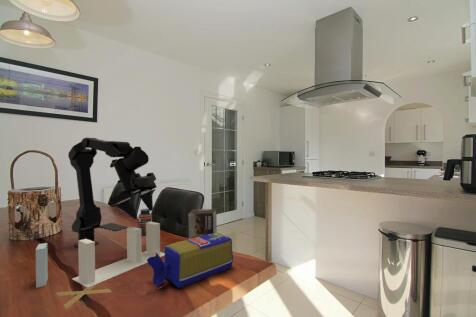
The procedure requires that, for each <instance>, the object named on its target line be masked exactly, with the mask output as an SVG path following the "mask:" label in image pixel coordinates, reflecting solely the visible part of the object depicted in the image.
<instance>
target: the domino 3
mask: <svg viewBox="0 0 476 317" xmlns="http://www.w3.org/2000/svg"><path fill="white" fill-rule="evenodd" d="M127 227H128V228H127V229H126V254H127V256H126V258H127V261H130V262H132V263H135V264H138V263H140V262H142V252H143V250H142V242H143V241H142V235H141V228H138V227H136V226H127Z"/></svg>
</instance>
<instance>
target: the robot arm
mask: <svg viewBox="0 0 476 317" xmlns="http://www.w3.org/2000/svg"><path fill="white" fill-rule="evenodd" d="M98 151H100V152H104V153H105V155H106V156H108V157H109V158H119V159H112V160H111V163H110V165H109V168H114V169H115V170H114V171H115V172H116V174H117V177H118V180H117V184H118V185H119V184H121V186H122V189H123V191H120V192H117V193H116V194H114V195H113V194H112V196H110V198H109V202H110V206H114V207H118V208H119V209H121V210H122V211H123V212H125V213H126V214H127V215H129V216H130V217H131V218H132V219H133V220H137V219H138V216H137V215H138V214H137V212H136V209H135V206H134V200H135V197H132V196H135V195H138V194H139V198H140V200H141V201H142V202H143V203H144V205H145V206H146V209H149V210H150V212H152V211H154V205H153V202H154V201H153V195H154V192H155V191H156V188H157V187H158V186H157V184H156V182H155V181H156V180H157V177H156V175H155V174H154V172H148V173H146V175H144V176H141V174H140V173H139V172H137V173H136V170H138V169H139V168H142V167H143V166H145V165H147V164H148V163H149V159H150V158H149V155H148V154H147V152H146V151H144V150H143V149H142V147H141V146H134V147H132V146H131V144H130V142H128V141H116V140H114V141H113V140H108V141H107V140H103V139H99V138H96V137H83V138H82V139H81V141H80V142H78V143H76V144H74V145H73V146H72V147H71V149H70V150H69V152H68V159H69V164H70V166H71V167H72V168H73V169H74V170H75V173H76V182H77V189H78V190H77V191H78V198H79V207H78V210H77V211H76V214H75V217H76V218H75V220H74V221H73V223H72V225H71V231H72V232H73V233H77V242H76V243H74V244H73V245H74V246H75V247H78V241H79V240H83V239H88V240H91V241H94V242H95V245H98V244H99V241H96V240H95V229H99V228H100V225H101V223H102V214H101V211H102V210H101V207H100V206H97V205H96V204H95V200H94V191H93V183H92V175H91V168H92V166H93V164H94V162H95V161H94V158H95V157H96V155H97V154H98ZM100 229H101V228H100Z"/></svg>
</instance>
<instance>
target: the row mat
mask: <svg viewBox="0 0 476 317" xmlns="http://www.w3.org/2000/svg"><path fill="white" fill-rule="evenodd" d="M159 256H160V258H162V257H165V252H161V251H160V255H159ZM150 257H154V256H153V255H150V254H147V253H146V250H145V251H142V262H140V263H138V264H135V263H132V262H130V261H127V257H126V258H124V259H121V260H118V261H115V262H113V263H110V264H108V265H105V266H102V267H100V268H95V281H94V282H91V283H89V284H87V283H85V282H83V281H81V280H80V279H79V275H78V276H76V277H75V276H74V277H73V278H71V280H73V281H74V282H76V283H78V284H80V285H82V286H84V287H85V288H90V287H92V286H95V285H97V284H100V283H102V282H104V281H107V280H109V279H111V278H114V277H116V276H118V275H122V274H123V273H126V272H129V271H130V270H133V269H136V268H138V267H140V266H143V265H145V264H148V262H147V259H148V258H150Z"/></svg>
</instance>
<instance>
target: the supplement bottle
mask: <svg viewBox="0 0 476 317" xmlns="http://www.w3.org/2000/svg"><path fill="white" fill-rule="evenodd" d="M137 219H138V220H137V221H138V222H137V223H138V224H137V226H138V227H137V228H141V236H146V223H147V222H153V214H152V213H151V211H150V210H149V209H148V208H141V209H140V214H138V216H137Z"/></svg>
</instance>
